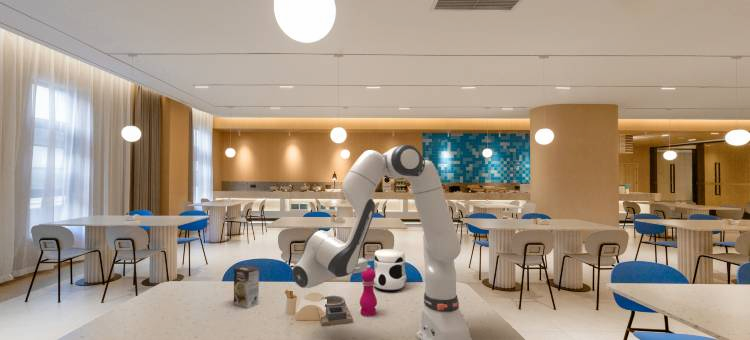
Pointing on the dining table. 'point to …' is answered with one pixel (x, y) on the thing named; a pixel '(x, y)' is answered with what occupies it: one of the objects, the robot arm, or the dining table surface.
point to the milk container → (389, 269)
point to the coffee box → (246, 286)
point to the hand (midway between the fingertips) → (352, 257)
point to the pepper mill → (368, 293)
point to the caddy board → (336, 311)
